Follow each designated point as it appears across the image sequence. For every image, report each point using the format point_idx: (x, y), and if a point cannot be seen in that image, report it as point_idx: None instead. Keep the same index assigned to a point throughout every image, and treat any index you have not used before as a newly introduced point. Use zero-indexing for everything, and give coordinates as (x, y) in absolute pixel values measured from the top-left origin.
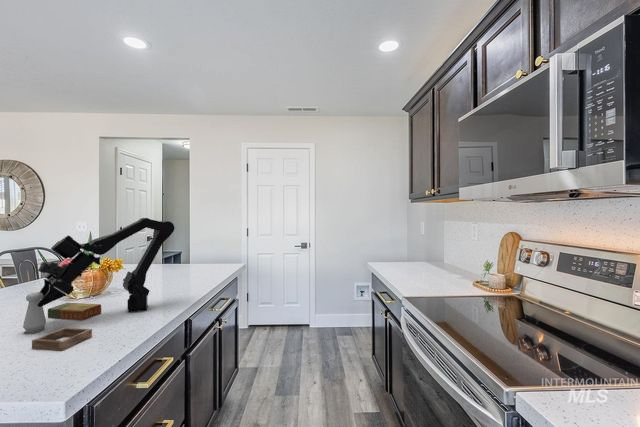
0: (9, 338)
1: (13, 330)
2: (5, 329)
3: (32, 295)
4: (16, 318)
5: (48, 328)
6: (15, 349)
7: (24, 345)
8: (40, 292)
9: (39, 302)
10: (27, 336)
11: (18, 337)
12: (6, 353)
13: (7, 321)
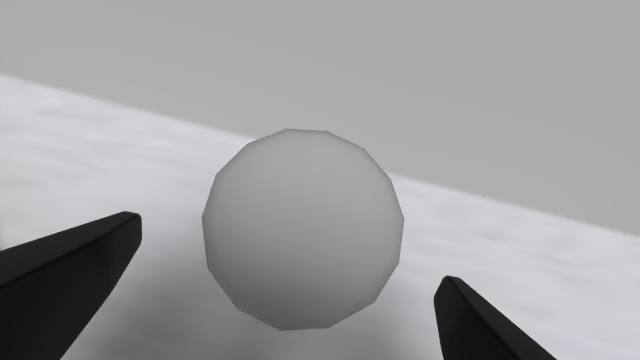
0: None
1: None
2: (446, 188)
3: (232, 166)
4: (626, 276)
5: (269, 328)
6: (64, 123)
7: (80, 160)
8: (297, 295)
9: (94, 223)
10: None
11: None
12: (49, 90)
13: (592, 232)
